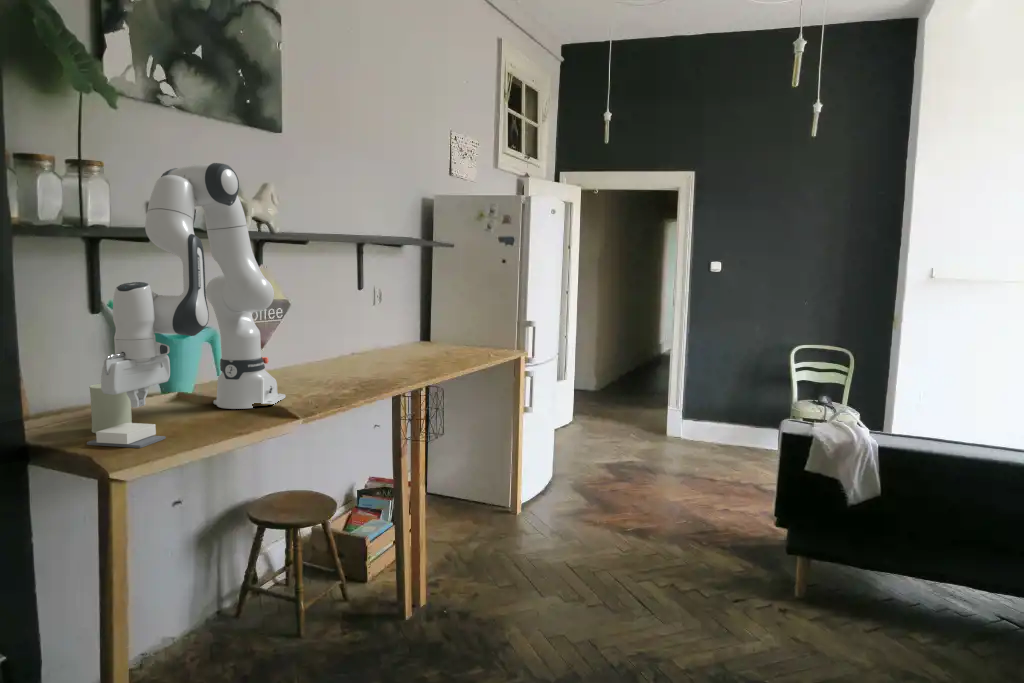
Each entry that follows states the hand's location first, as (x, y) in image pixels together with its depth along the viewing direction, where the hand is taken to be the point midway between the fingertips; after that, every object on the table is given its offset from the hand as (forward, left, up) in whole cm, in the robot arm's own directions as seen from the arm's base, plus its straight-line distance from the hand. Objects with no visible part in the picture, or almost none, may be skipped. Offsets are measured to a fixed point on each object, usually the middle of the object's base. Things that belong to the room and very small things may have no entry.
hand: (138, 406), depth 176 cm
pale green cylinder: (-6, -12, -8) cm, 15 cm away
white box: (-1, 0, -6) cm, 6 cm away
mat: (+4, 0, -8) cm, 9 cm away
